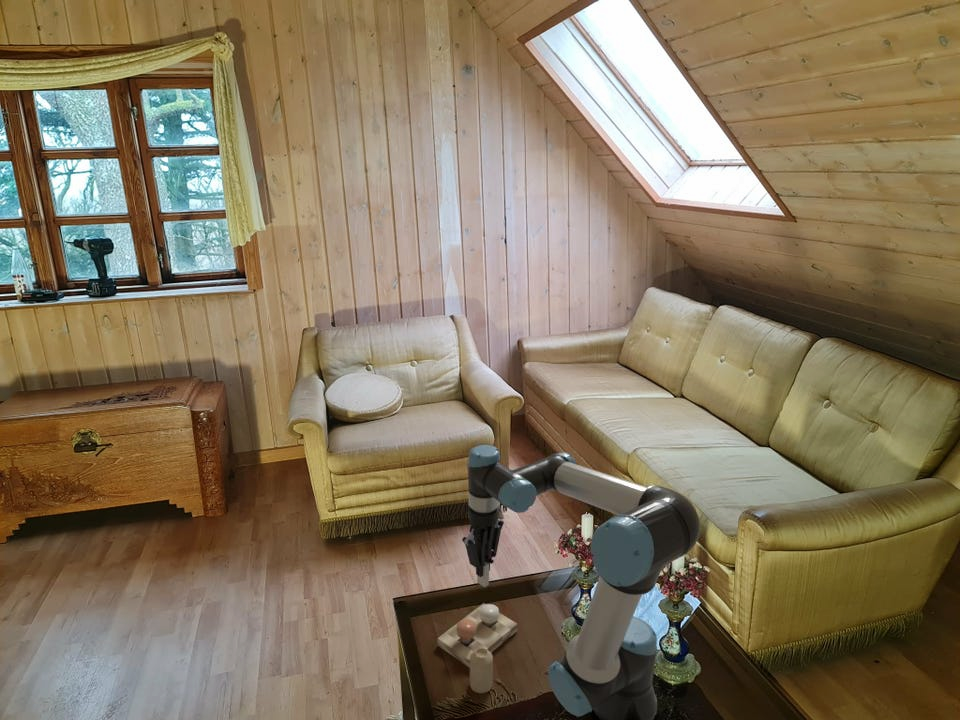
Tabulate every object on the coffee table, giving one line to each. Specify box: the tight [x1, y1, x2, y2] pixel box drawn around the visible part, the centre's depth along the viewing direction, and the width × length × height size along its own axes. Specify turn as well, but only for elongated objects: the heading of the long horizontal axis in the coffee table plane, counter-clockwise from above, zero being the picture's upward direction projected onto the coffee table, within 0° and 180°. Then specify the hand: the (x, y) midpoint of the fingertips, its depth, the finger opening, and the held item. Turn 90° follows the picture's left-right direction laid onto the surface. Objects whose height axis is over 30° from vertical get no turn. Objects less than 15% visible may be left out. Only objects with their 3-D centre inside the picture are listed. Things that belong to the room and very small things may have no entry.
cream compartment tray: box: [437, 602, 518, 669], centre depth 188 cm, size 12×18×2 cm, turn 138°
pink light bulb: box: [456, 618, 476, 645], centre depth 184 cm, size 5×5×5 cm
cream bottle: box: [469, 648, 494, 694], centre depth 172 cm, size 6×6×10 cm
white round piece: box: [480, 603, 500, 628], centre depth 190 cm, size 5×5×5 cm
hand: (482, 583), depth 184 cm, fingers closed
